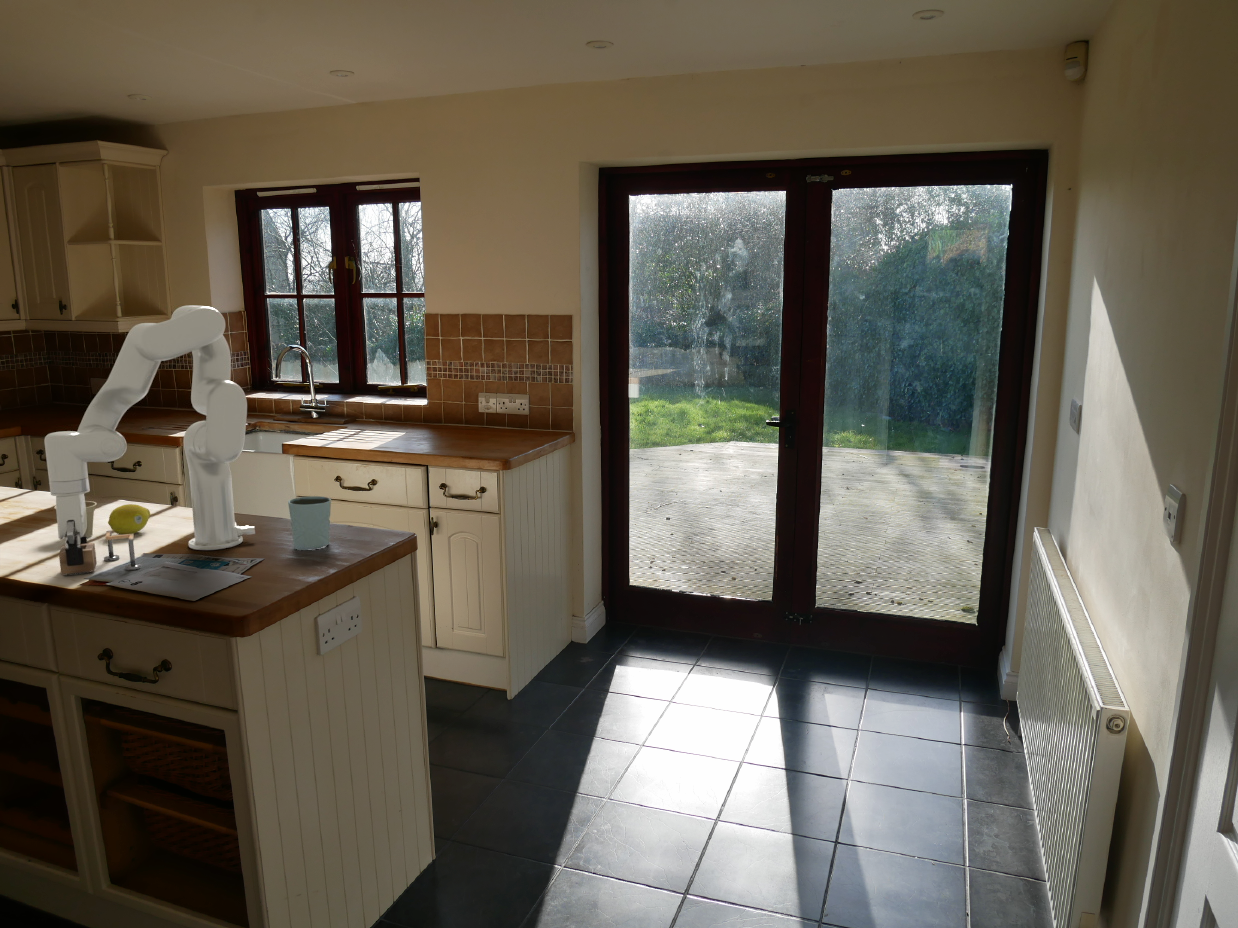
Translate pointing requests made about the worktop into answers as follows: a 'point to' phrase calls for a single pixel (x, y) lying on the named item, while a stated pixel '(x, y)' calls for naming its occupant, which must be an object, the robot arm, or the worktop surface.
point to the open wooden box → (89, 560)
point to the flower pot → (88, 517)
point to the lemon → (128, 519)
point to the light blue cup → (310, 521)
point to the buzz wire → (116, 557)
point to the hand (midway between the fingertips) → (78, 559)
